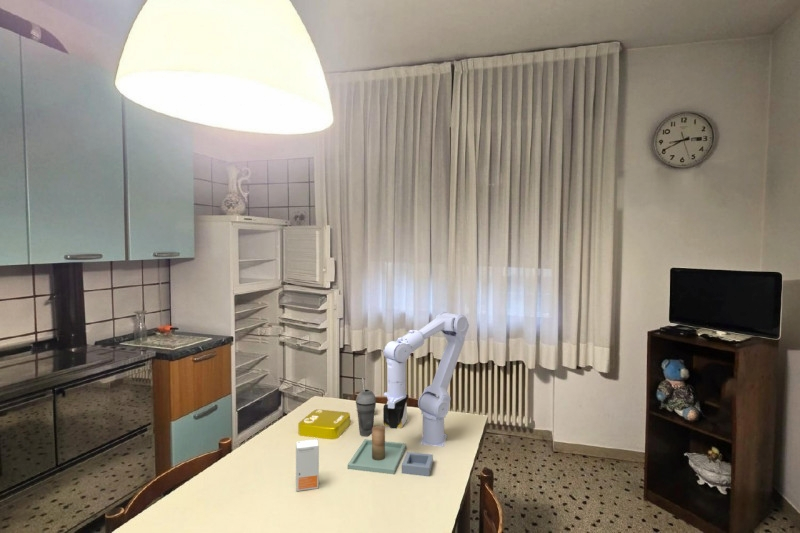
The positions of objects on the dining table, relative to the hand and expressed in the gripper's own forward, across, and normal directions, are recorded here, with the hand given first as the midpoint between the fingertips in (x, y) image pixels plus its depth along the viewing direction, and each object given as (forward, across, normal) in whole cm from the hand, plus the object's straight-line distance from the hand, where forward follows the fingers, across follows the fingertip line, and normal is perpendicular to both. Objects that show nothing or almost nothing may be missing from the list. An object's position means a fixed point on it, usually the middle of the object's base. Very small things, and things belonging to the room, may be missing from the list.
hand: (396, 422), depth 131 cm
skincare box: (+11, +22, -20) cm, 32 cm away
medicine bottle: (+11, -24, -6) cm, 27 cm away
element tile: (+11, -14, -30) cm, 35 cm away
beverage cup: (+11, -13, -14) cm, 22 cm away
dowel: (+10, +4, -5) cm, 12 cm away
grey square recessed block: (+10, +7, +8) cm, 15 cm away
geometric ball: (+11, -29, -19) cm, 36 cm away
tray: (+10, +4, -5) cm, 12 cm away
